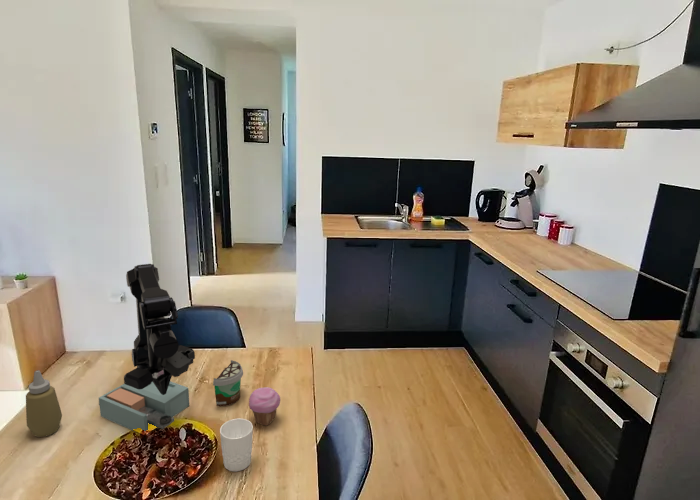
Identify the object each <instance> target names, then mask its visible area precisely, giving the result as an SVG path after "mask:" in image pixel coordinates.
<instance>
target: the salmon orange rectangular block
mask: <svg viewBox="0 0 700 500" xmlns="http://www.w3.org/2000/svg"><path fill="white" fill-rule="evenodd" d="M107 398H108V399H110V400H113V401H115V402H117V403H120V404H122V405H125V406H127V407H129V408H132V409H134V410H139V409H140V408H142V407H144V406H145V400H144V397H141V396H139V395H136V394H134V393H131V392H129V391H126V390H124V389H121V388H119V389H118V390H116V391H114V392H112V393H110V394H109V395H107Z"/></svg>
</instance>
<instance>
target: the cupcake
mask: <svg viewBox="0 0 700 500" xmlns="http://www.w3.org/2000/svg"><path fill="white" fill-rule="evenodd" d="M280 403H281V395H279V393H278V392H277V391H276V390H275V389H273V388H272V387H267V386H266V387H265V386H264V387H258V388H256V389H254V390H253V391H252V393H251V394H250V396H249V398H248V407H249V409H250V410H251V412H252V414H253V417H254V419H255V422H256V423H258V424H260V425H262V426H265V427H267V426H269V425H270V424H271V423H272V422H273V420H275V419H276V417H277V409H278V408H279V406H280V405H281V404H280Z"/></svg>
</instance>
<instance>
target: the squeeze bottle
mask: <svg viewBox="0 0 700 500" xmlns="http://www.w3.org/2000/svg"><path fill="white" fill-rule="evenodd" d="M25 410H26V411H25V413H26V416H25V417H26V419H25V420H26V426H27V428H28V429H29V431H30V432H31V433H32V435H33V436H34V437H35V438H36V437H37V438H42V437H47V436H51V435H52V434H55V432H57V431H58V430H59V428H60V425H61V421H62V418H63V414H62V410H61V407H60V403H59V400H58V396H57V393H56V390H55V387H54V386H51V383H50V380H48V379H45V378H44V377H43V375H42V372H41V370H39V369H38V370H34V374H33V381H32V382H30V383H29V385H28V392H27V393H26V394H25Z"/></svg>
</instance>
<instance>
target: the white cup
mask: <svg viewBox="0 0 700 500" xmlns="http://www.w3.org/2000/svg"><path fill="white" fill-rule="evenodd" d="M253 429H254V428H253V423H252V422H251V421H250V420H249V419H246V418H233V419H229V420H227V421H225V422H224V423H223V424H222V425H221V426H220V428H219V433H220V434H219V435H220V437H219V438H220V445H221V446H220V447H221V454H222V460H223V461H222V463H223V465H224V468H225V469H227V470H228V471H229V472H239V471H243V470H245V469H247V468H248V467H249V466H250V464H251V462H252V451H253V435H254V434H253V432H254V431H253Z"/></svg>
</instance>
